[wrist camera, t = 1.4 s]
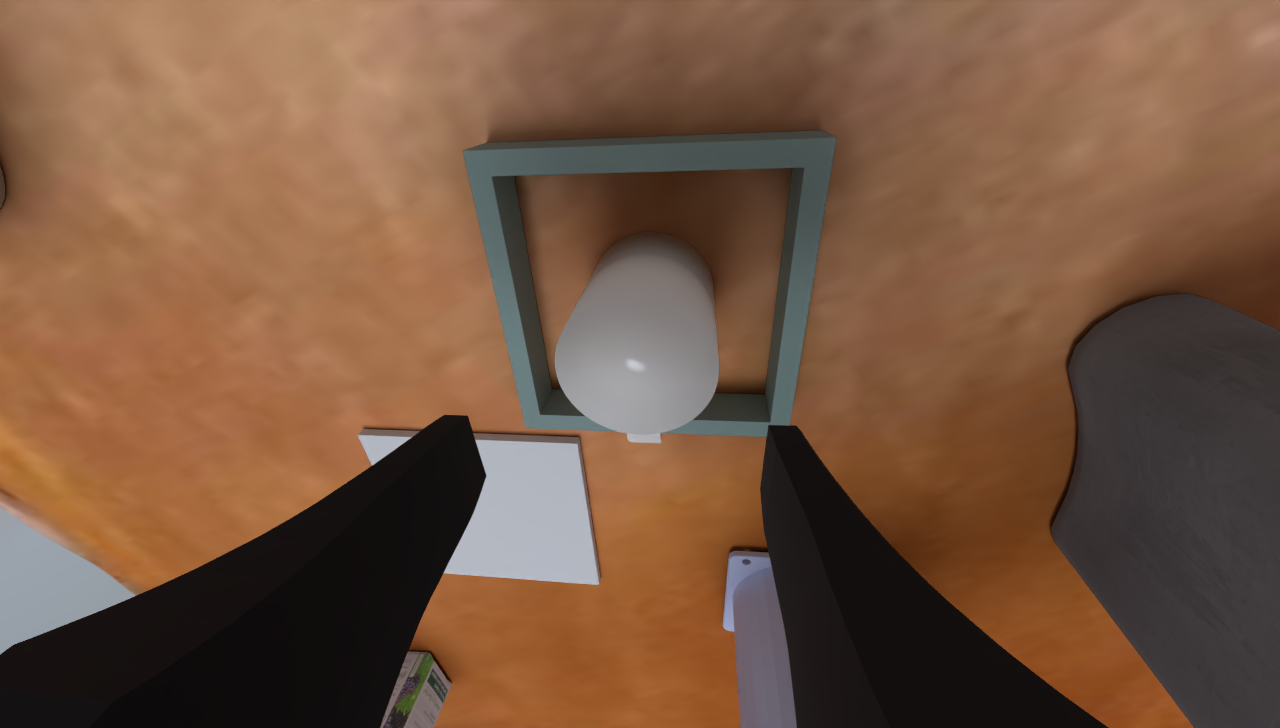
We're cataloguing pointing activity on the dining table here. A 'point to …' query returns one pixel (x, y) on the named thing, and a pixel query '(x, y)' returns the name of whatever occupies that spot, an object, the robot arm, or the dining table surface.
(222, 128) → the dining table surface
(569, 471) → the mat
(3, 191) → the plant pot
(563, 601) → the dining table surface
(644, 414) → the jug
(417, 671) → the syrup box
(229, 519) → the dining table surface
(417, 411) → the dining table surface
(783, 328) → the holder
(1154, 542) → the flask
